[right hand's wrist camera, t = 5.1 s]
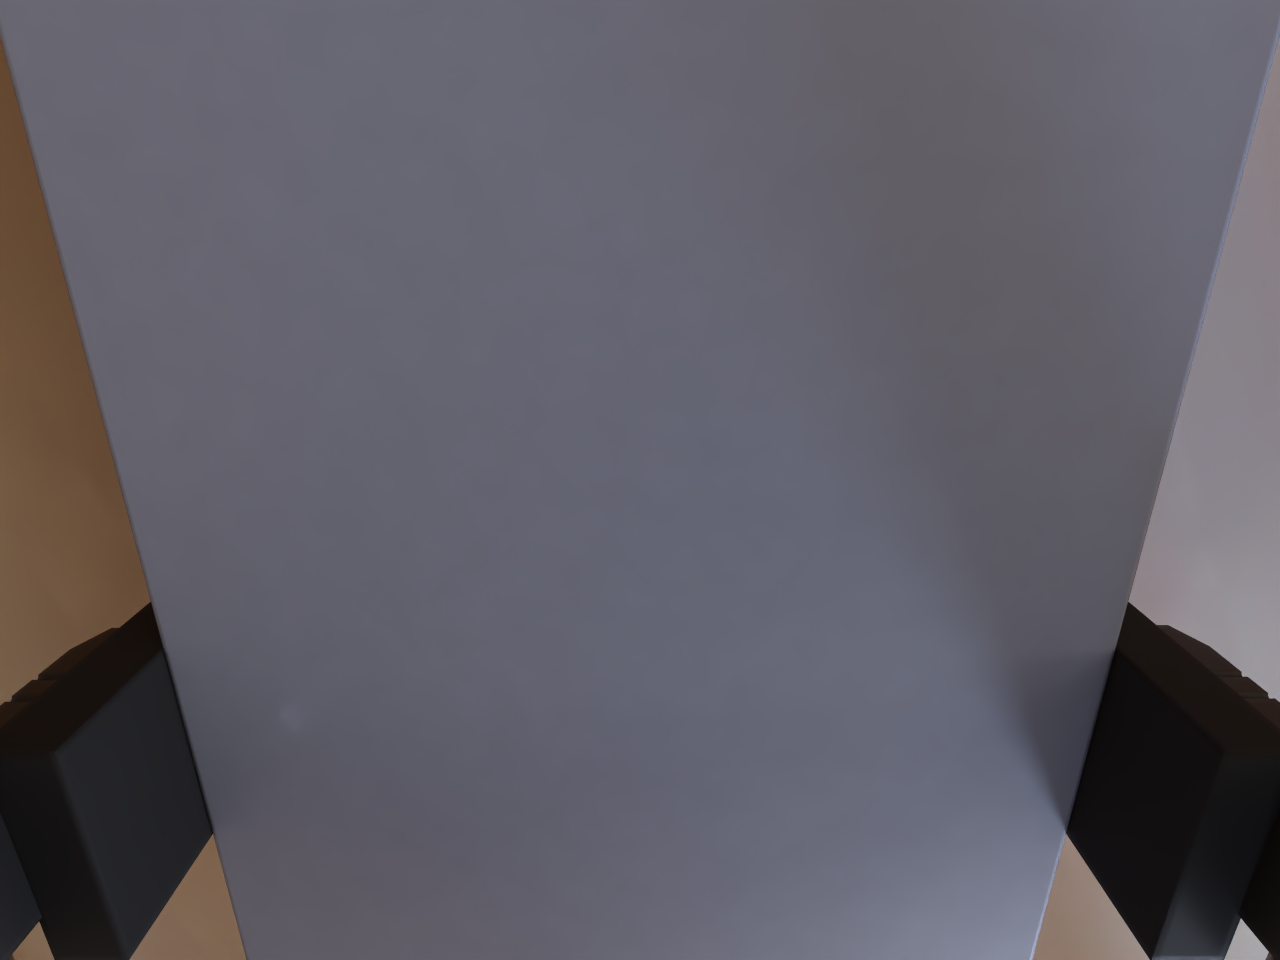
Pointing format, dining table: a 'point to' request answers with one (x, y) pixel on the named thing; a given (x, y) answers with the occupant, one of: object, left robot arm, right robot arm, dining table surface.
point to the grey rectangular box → (639, 440)
